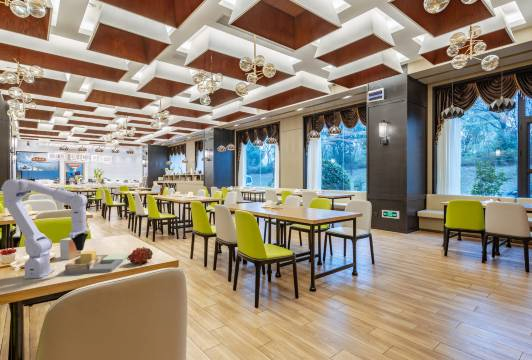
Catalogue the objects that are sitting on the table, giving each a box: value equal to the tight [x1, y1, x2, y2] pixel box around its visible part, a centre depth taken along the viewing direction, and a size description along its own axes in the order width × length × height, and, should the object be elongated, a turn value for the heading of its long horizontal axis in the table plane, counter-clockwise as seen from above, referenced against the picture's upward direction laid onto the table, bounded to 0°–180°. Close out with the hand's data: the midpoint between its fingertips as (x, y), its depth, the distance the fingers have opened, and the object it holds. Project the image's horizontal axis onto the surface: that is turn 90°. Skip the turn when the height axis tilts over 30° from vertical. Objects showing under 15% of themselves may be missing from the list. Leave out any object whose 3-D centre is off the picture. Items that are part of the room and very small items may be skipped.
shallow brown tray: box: [64, 254, 104, 271], centre depth 140 cm, size 15×10×2 cm, turn 7°
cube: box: [79, 250, 97, 264], centre depth 143 cm, size 5×5×5 cm
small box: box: [59, 237, 82, 260], centre depth 158 cm, size 8×6×10 cm
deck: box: [63, 253, 130, 275], centre depth 145 cm, size 24×20×2 cm
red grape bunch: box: [126, 246, 154, 265], centre depth 147 cm, size 8×8×12 cm
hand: (80, 250), depth 135 cm, fingers closed
